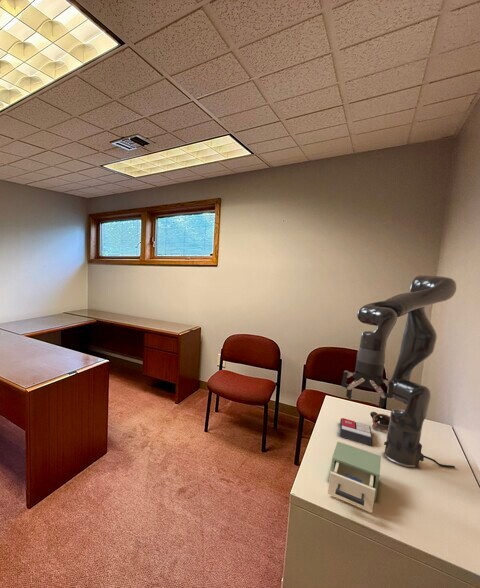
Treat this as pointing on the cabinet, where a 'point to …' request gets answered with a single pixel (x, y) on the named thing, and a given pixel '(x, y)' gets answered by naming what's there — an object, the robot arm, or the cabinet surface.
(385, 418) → the pottery mug
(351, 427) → the red and grey box
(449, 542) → the cabinet surface
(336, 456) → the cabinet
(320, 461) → the cabinet surface
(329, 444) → the cabinet surface
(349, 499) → the drawer
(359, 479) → the block
